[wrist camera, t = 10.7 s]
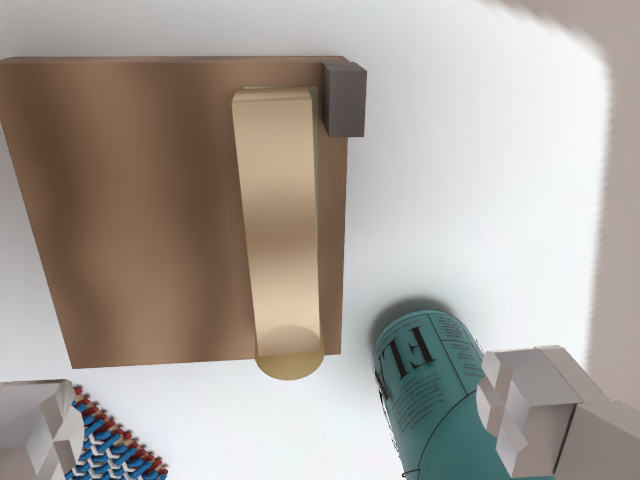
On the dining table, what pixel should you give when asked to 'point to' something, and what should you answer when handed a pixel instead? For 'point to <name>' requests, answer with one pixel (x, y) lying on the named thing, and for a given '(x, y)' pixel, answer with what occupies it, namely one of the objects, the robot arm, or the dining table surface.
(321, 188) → the brown wooden box
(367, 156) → the dining table surface
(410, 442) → the beverage bottle
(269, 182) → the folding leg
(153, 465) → the woven mat
